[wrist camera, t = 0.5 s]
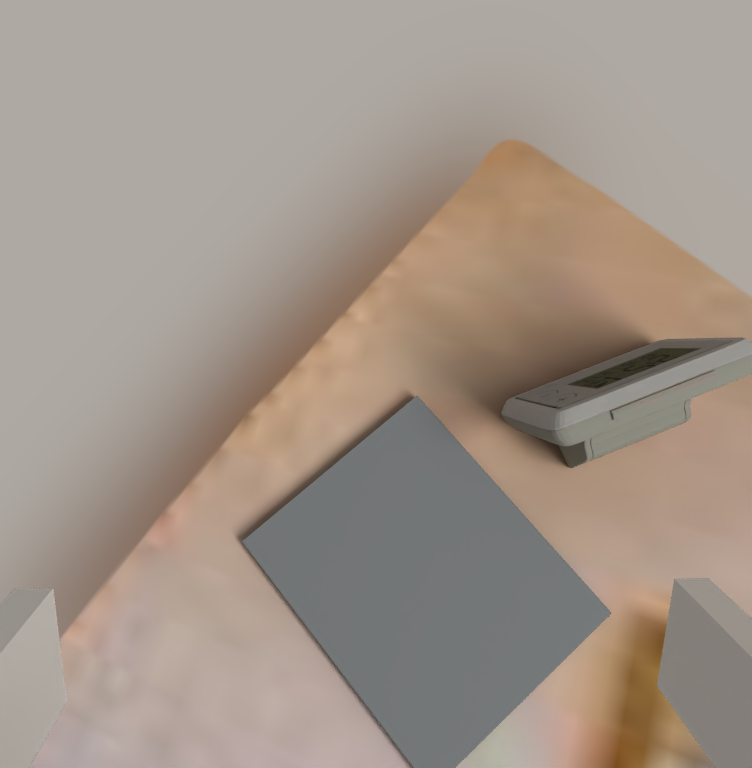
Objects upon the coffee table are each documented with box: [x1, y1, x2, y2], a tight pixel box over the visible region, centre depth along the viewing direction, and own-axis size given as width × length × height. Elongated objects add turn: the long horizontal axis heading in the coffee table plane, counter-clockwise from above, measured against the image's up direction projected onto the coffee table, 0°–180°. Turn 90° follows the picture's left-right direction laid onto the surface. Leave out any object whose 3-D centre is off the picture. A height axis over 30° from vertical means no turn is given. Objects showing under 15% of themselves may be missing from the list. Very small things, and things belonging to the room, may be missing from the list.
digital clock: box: [501, 338, 752, 468], centre depth 44 cm, size 16×9×11 cm, turn 100°
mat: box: [242, 396, 611, 768], centre depth 45 cm, size 22×18×1 cm
